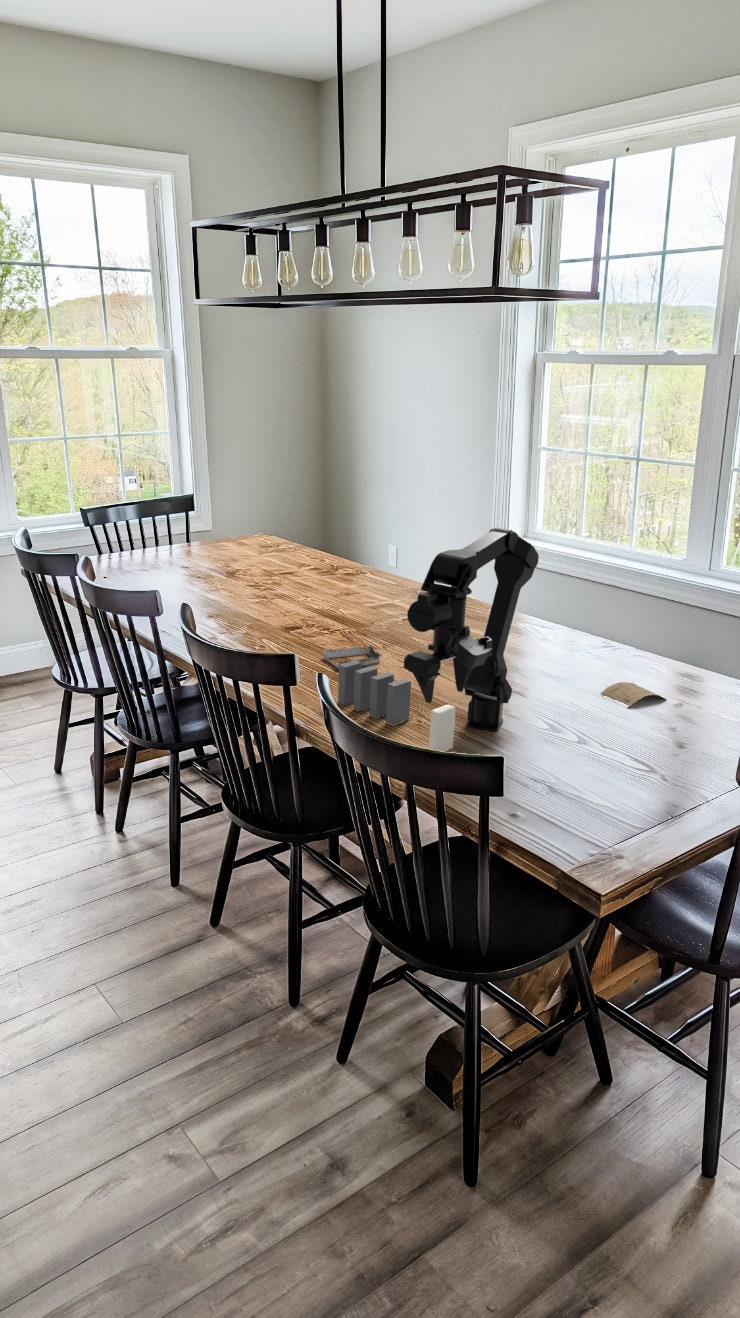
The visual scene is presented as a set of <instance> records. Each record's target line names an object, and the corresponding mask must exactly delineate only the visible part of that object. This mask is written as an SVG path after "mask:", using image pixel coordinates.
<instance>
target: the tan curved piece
mask: <svg viewBox="0 0 740 1318" xmlns="http://www.w3.org/2000/svg"><path fill="white" fill-rule="evenodd" d="M601 694H602V695H603V696H607V697H609V698H611V699H613V700H617V701H619V702H622V703H624V704H626V705H629V706H630V707H631V706H632V705H633V704H635V703H637V702H638V701H639V700H641V699H642V698H644V697H648V696H657V695H658V697H659V696H660V695H659V694H656V693H655V692H653V691H651V690H648V689H646V688H644V687H642V686H639V685H637V684H636V683H634V682H629V681H628V682H627V681H619V682H615V683H613V684H611V685H609V686H607V687H606V688H605V689H604V690H603V691H602V692H600V695H601ZM603 696H602V697H603Z"/></svg>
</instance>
